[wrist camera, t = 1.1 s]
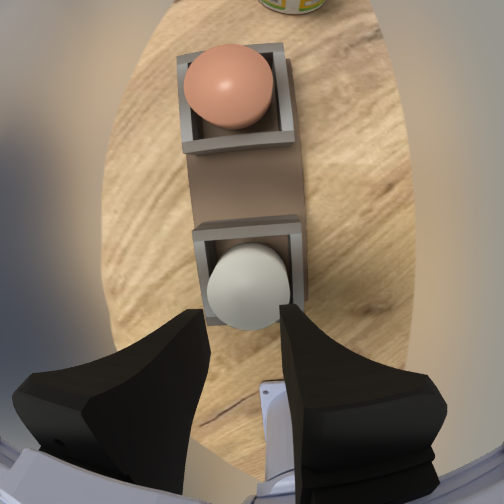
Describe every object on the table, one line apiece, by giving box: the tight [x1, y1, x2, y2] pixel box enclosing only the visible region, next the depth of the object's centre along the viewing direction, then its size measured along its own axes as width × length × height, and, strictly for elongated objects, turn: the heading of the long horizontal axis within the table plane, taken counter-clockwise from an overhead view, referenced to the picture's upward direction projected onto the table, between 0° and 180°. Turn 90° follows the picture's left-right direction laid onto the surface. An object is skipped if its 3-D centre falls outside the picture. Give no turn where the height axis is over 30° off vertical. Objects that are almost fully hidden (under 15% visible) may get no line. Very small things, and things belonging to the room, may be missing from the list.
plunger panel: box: [177, 43, 308, 326], centre depth 16 cm, size 16×7×4 cm, turn 5°
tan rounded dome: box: [184, 44, 273, 130], centre depth 12 cm, size 4×4×2 cm
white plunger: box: [207, 242, 290, 330], centre depth 15 cm, size 4×4×2 cm
